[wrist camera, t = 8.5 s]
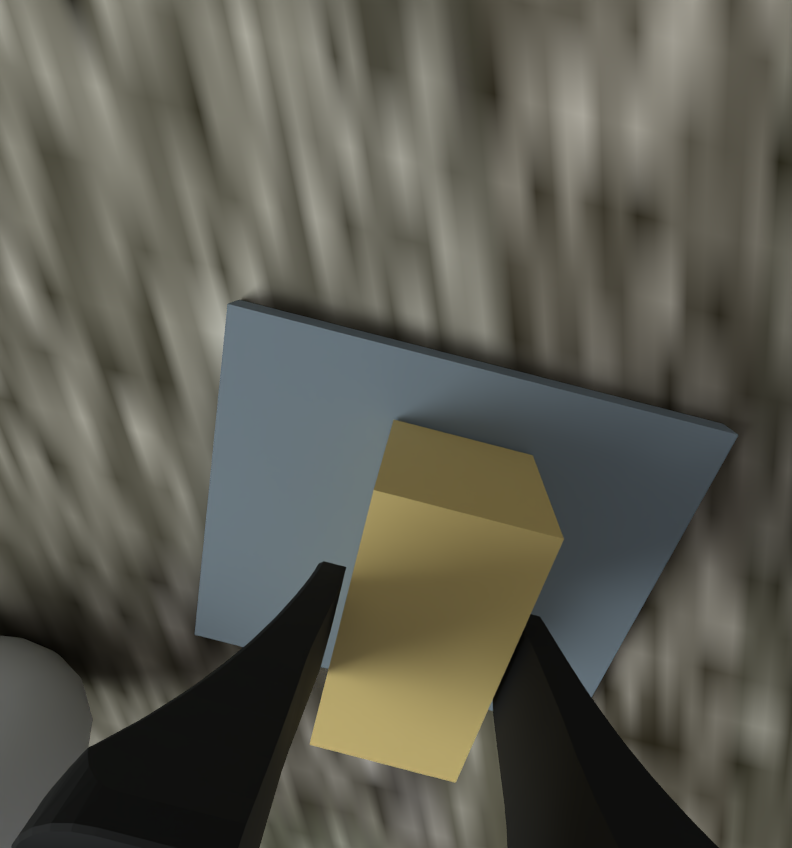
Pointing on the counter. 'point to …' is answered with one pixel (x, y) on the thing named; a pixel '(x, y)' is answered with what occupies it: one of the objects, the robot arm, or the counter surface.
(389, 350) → the mat
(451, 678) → the yellow rectangular block
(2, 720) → the donut
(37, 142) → the counter surface
